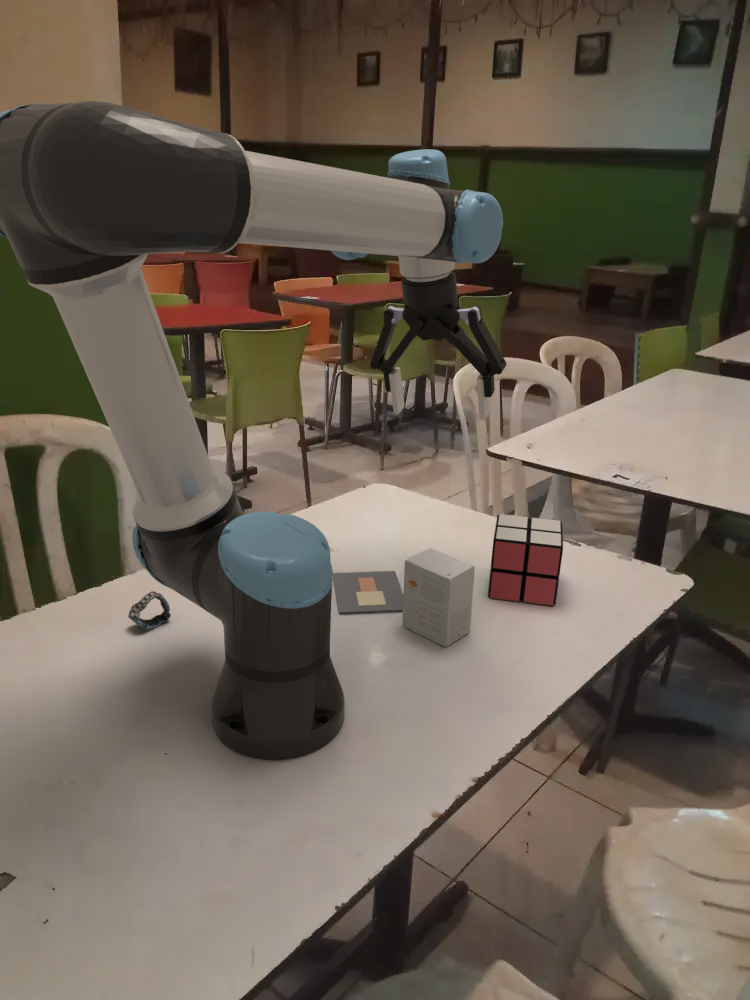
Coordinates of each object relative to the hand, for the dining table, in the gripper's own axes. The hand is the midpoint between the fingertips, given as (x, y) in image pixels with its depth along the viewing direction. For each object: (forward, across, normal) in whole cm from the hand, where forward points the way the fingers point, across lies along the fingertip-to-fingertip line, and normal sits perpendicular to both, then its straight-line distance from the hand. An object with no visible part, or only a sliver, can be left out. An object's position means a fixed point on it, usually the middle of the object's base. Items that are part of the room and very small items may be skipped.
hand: (440, 413), depth 118 cm
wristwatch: (+15, +30, +40) cm, 52 cm away
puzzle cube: (+26, -13, +7) cm, 30 cm away
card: (+21, +7, +19) cm, 29 cm away
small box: (+21, -6, +24) cm, 33 cm away
